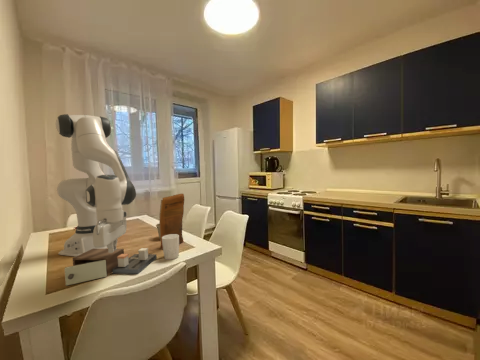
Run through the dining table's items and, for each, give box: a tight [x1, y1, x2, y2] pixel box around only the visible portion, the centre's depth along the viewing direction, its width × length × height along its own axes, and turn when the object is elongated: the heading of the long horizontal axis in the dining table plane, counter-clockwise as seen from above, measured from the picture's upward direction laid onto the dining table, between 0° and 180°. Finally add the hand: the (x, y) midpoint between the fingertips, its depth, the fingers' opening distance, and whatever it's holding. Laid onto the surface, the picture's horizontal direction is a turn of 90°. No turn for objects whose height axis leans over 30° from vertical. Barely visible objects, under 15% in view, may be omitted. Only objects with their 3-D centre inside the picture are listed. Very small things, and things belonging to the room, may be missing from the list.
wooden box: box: [72, 248, 125, 276], centre depth 97 cm, size 15×11×7 cm
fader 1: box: [117, 253, 129, 267], centre depth 95 cm, size 3×3×4 cm
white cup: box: [162, 234, 180, 260], centre depth 108 cm, size 8×8×10 cm
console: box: [111, 253, 158, 275], centre depth 100 cm, size 11×16×2 cm
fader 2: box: [137, 247, 149, 260], centre depth 101 cm, size 3×3×4 cm
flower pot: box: [155, 223, 160, 240], centre depth 139 cm, size 9×9×9 cm
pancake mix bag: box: [158, 192, 185, 250], centre depth 125 cm, size 7×19×28 cm, turn 149°
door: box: [64, 260, 108, 286], centre depth 86 cm, size 13×2×6 cm, turn 118°
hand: (112, 251), depth 88 cm, fingers closed
